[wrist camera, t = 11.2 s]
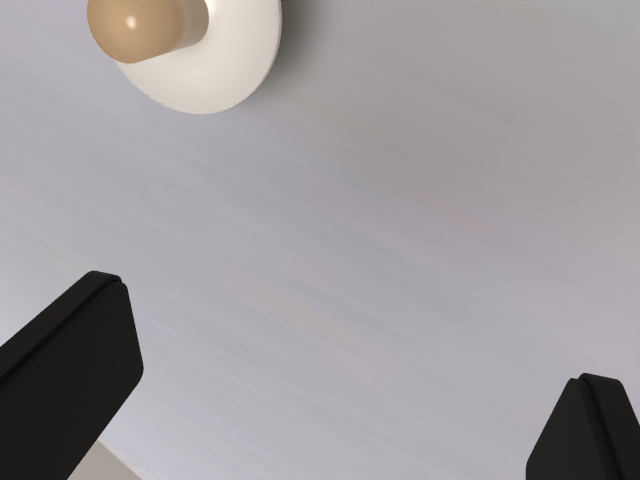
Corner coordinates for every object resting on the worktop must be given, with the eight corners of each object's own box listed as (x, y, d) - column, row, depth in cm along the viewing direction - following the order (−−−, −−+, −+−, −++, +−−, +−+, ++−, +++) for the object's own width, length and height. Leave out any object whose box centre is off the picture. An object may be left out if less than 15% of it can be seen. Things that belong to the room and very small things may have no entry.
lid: (282, -108, 24) (228, -131, 18) (282, 119, 30) (241, 157, 24) (80, -114, 26) (-27, -136, 20) (119, 100, 32) (47, 130, 26)
